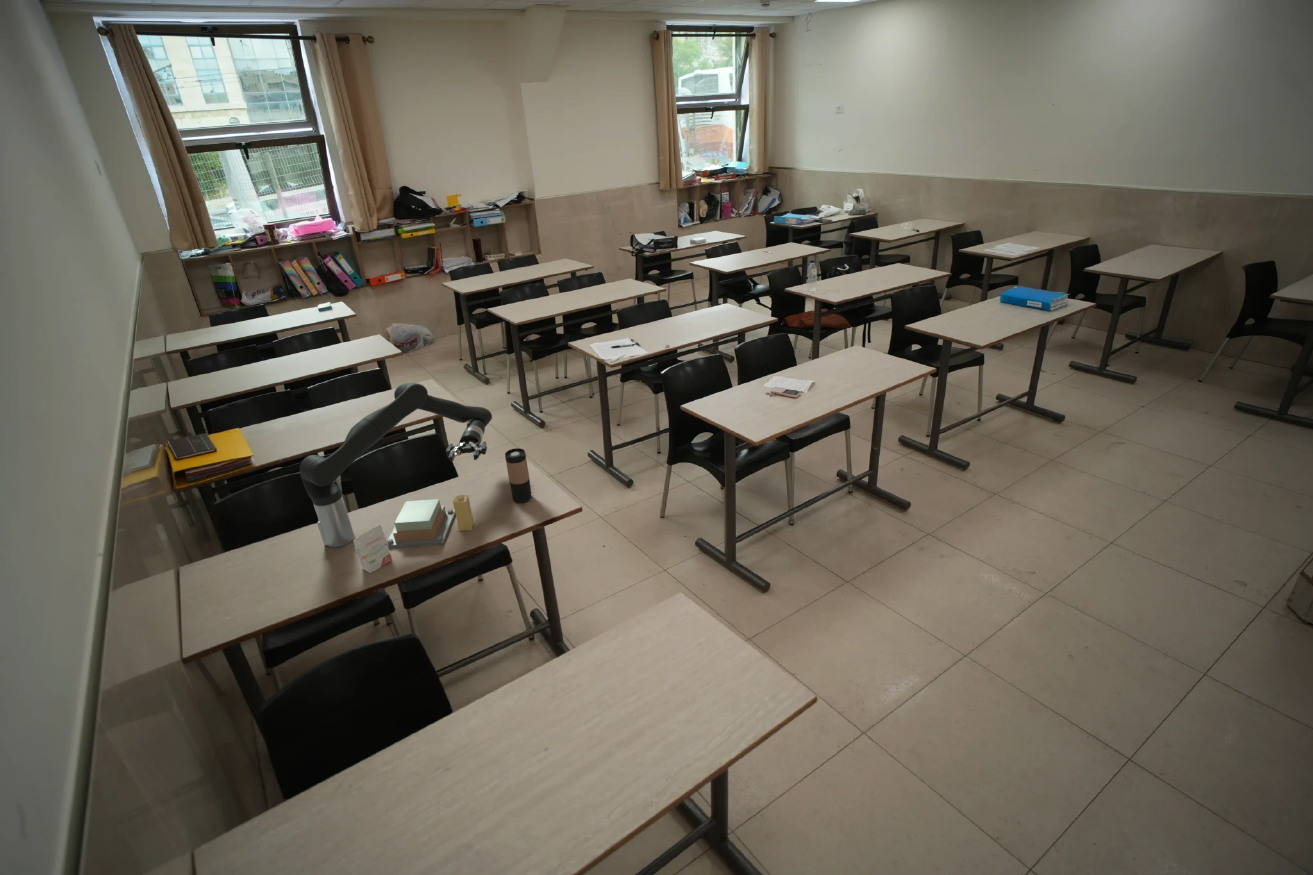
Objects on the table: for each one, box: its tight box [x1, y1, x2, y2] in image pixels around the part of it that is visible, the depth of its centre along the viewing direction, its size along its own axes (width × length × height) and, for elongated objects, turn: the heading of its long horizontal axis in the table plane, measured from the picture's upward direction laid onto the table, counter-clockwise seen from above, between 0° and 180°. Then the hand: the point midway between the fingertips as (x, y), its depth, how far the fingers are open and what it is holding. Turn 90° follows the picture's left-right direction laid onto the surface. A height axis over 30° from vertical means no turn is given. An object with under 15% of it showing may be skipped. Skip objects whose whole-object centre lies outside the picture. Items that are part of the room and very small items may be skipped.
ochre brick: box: [452, 494, 475, 532], centre depth 234 cm, size 4×4×13 cm
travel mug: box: [504, 447, 532, 504], centre depth 248 cm, size 8×8×20 cm
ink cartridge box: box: [352, 524, 393, 574], centre depth 216 cm, size 9×5×15 cm, turn 143°
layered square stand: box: [386, 498, 456, 549], centre depth 235 cm, size 20×20×8 cm
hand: (463, 458), depth 238 cm, fingers open, 8 cm apart
